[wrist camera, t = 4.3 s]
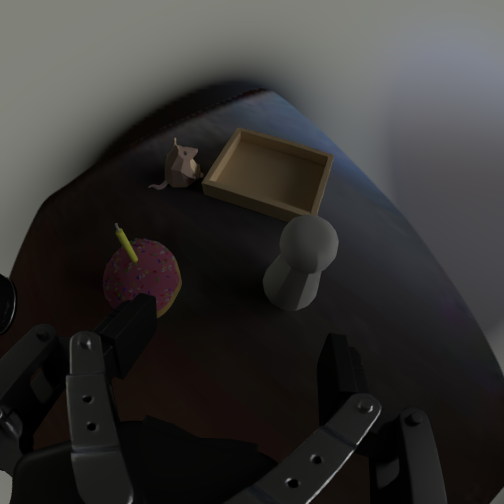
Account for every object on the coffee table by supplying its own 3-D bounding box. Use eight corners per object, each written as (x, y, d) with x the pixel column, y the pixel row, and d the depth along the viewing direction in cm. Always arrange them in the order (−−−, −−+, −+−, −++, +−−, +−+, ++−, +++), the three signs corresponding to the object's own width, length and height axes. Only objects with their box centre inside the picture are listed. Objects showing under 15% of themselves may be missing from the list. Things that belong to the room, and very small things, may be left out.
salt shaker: (252, 298, 30) (254, 247, 19) (277, 257, 32) (293, 188, 21) (298, 324, 29) (332, 290, 17) (321, 281, 31) (362, 224, 19)
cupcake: (129, 255, 32) (84, 200, 21) (194, 260, 32) (169, 201, 21) (115, 322, 29) (55, 292, 18) (184, 333, 29) (146, 308, 18)
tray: (203, 194, 36) (201, 182, 34) (238, 139, 41) (237, 126, 38) (310, 230, 34) (315, 220, 32) (330, 167, 39) (334, 155, 36)
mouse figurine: (146, 175, 38) (132, 143, 31) (197, 158, 39) (191, 124, 33) (151, 201, 36) (136, 169, 30) (206, 183, 37) (200, 148, 31)
